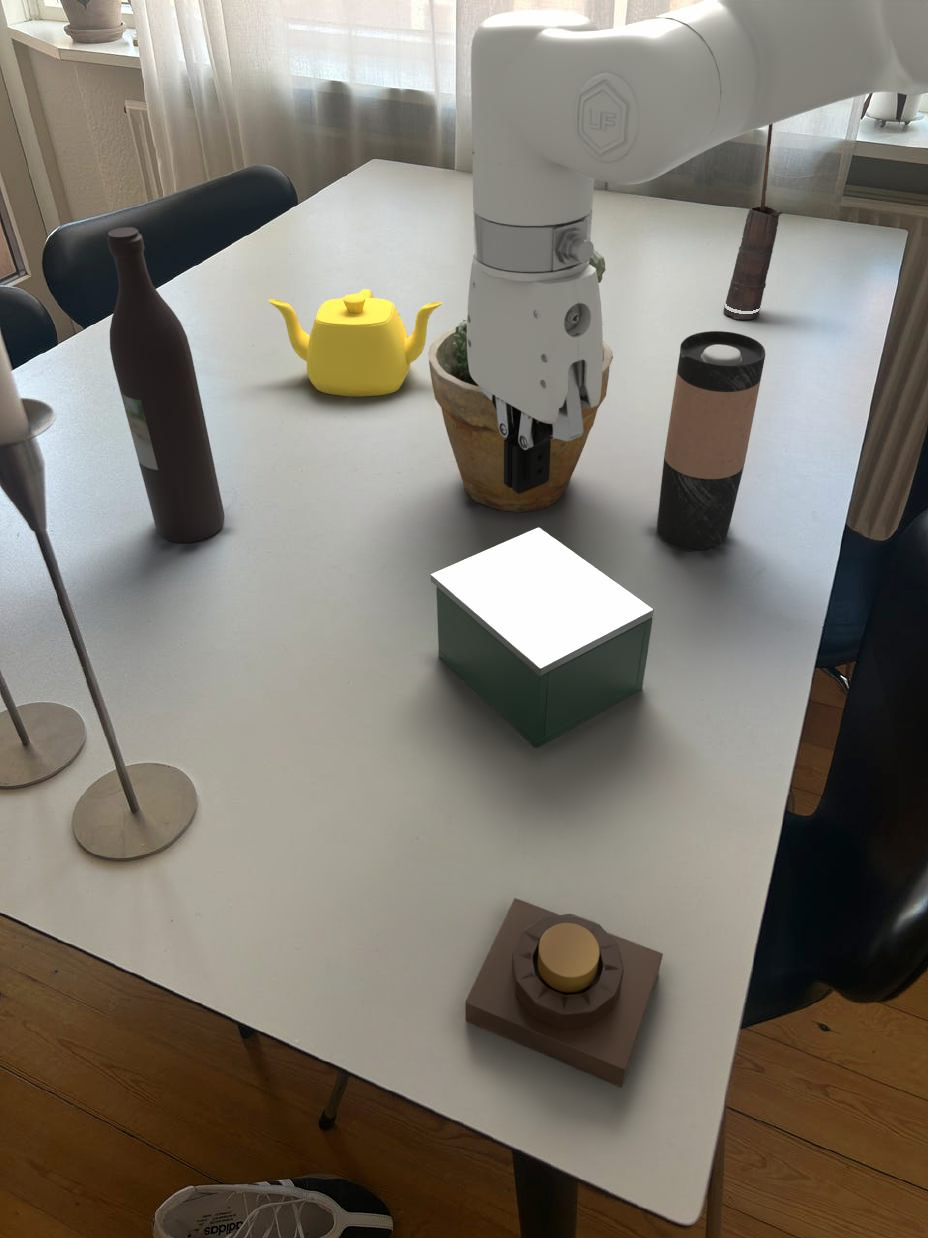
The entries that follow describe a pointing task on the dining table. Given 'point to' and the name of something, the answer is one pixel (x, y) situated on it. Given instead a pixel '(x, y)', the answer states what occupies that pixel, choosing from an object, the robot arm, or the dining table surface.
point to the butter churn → (754, 254)
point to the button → (568, 957)
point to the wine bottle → (162, 400)
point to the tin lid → (541, 599)
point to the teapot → (357, 344)
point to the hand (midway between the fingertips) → (526, 483)
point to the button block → (565, 995)
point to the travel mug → (708, 437)
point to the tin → (552, 697)
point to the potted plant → (478, 426)
